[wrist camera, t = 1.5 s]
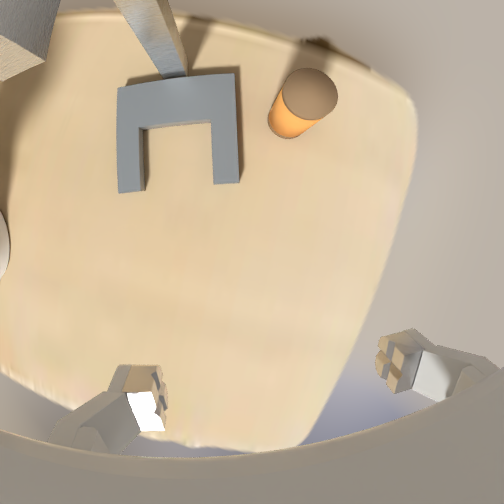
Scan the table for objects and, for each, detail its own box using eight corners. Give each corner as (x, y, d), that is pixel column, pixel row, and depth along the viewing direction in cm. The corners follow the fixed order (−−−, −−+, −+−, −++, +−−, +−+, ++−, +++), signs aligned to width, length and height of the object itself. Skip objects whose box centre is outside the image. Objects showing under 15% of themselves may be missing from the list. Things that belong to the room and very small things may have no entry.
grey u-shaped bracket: (123, 193, 35) (118, 193, 33) (122, 92, 32) (117, 88, 30) (238, 183, 36) (239, 182, 34) (234, 78, 33) (234, 73, 31)
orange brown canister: (268, 138, 35) (286, 117, 24) (266, 102, 34) (282, 66, 22) (307, 138, 36) (340, 119, 24) (304, 102, 34) (334, 70, 23)
